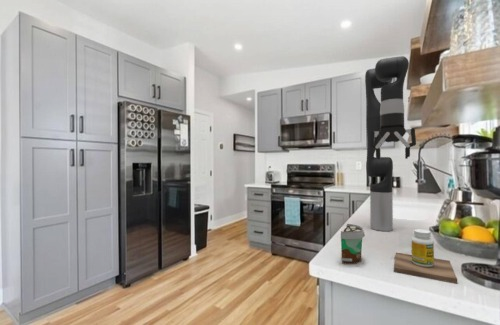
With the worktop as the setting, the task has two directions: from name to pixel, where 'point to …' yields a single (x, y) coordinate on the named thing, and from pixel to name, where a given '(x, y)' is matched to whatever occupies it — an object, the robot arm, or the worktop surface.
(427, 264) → the supplement bottle
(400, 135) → the robot arm
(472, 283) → the worktop surface
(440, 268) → the walnut cutting board
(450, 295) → the worktop surface
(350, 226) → the food container
